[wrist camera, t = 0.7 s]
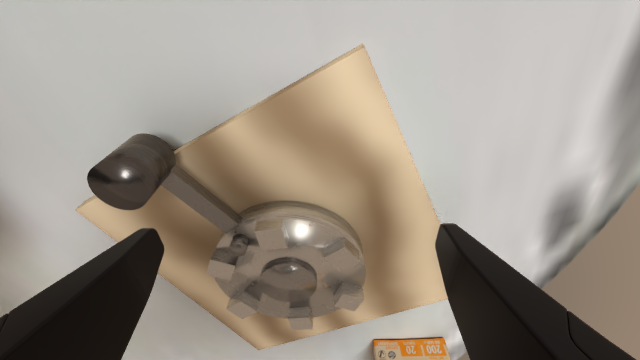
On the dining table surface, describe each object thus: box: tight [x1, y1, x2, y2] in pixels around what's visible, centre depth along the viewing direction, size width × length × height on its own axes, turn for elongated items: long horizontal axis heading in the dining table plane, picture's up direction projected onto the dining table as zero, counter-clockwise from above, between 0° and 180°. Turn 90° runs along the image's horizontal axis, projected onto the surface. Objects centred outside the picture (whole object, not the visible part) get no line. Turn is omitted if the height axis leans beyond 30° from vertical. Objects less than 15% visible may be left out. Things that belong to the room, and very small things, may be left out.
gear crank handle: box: [87, 134, 366, 330], centre depth 21 cm, size 20×12×4 cm, turn 39°
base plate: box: [76, 44, 448, 350], centre depth 25 cm, size 30×24×2 cm
